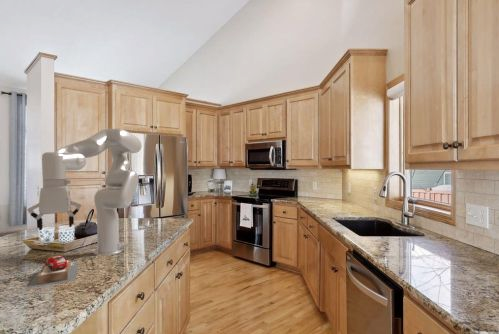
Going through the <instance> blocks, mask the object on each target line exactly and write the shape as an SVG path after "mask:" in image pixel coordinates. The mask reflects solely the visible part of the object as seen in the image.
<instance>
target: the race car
mask: <svg viewBox="0 0 499 334" xmlns="http://www.w3.org/2000/svg"><path fill="white" fill-rule="evenodd" d="M66 260H67V259H65V257H64V255H56V256H51V257H48V258H46V259H45V260H44V264H45V265H46V266H48V267H49V268H50V269H51V270H56V269H61V268H65V267H68V263H67V261H66Z"/></svg>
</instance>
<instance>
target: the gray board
mask: <svg viewBox="0 0 499 334" xmlns="http://www.w3.org/2000/svg"><path fill="white" fill-rule="evenodd" d="M78 268H79V264H73V265H71V269H70V273H69V277H68V280H62V281H56V282H50V283H44V284H39V285H38V278H37V276H38V274H39V273H40V271H41V269H40V270H37V272H36V273H35V274H34V277H33V278H32V280H31V281H30V283H29V285H28V287H27V289H33V288H37V287H44V286H50V285H55V284H62V283H67V282H73V281H76V279H77V272H78Z"/></svg>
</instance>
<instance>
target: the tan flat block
mask: <svg viewBox="0 0 499 334" xmlns="http://www.w3.org/2000/svg"><path fill="white" fill-rule="evenodd" d="M65 260H66V261H67V263H68V267H65V268H61V269H56V270H51V269H50V268H49V267H48V266H46V265H45V263H44V264H43V265H42V267H41V268H40V270H41V271H40V270H39V271H40V273H39V274H38V276H37V278H38V285H39V284H44V283H50V282H56V281H62V280H68V277H69V273H70V269H71V266H72V260H71V259H69V260H68V259H65Z"/></svg>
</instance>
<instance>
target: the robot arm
mask: <svg viewBox="0 0 499 334" xmlns="http://www.w3.org/2000/svg"><path fill="white" fill-rule="evenodd" d="M142 147H143V146H142V142H141V140H140V138H139V137H138V136H136V135H135V134H133V133H131V132H130V131H128V130H125V129H123V128H104V129H101V130H100V131H98V132H95V134H93V135H91V136H89V137H87V138H86V139H82V140H79V141H77V142H75V143H74V142H73V143H71V144H68V145H65V146H63V147H61V148H59V149H57V150H55V151H51V152H50V151H48V152H44V153H42V155H41V166H42V167H41V170H42V171H41V173H42V187H41V188H40V190H39V196H38V197H39V199H38V203H37V204H33V205H32V206H30V207H28V208H27V209H26V210H27V212H28V213H29V214H30V217H31V218H34V219H35V220H36V229H38V230H39V231H42V229H43V227H44V225H43V224H44V223H43V218H42V217H43V216H44V215H50V214H51V215H53V214H63V213H66V214H68V216H69V217H68V223H69V224H68V227H69V228H71V227H72V226H73V225H74V220H75V219H74V216H75V215H76V214H78V212H79V211H80V209H81V207H82V204H80V203H78V202H76V201H73V200H71V192H70V187H69V186H68V185H70V184H71V180H68V179H67V172H66V171H80V170H82V169H83V168H85V166H86V164H87V158H88V159H89V158H93V157H96V156H99V155H100V154H101V153H103V152H104V151H106V150H107V149H109V152H110V154H111V159H112V162H111V166H110V167H109V169H108V173H107V175H106V176H105V179H104V180H105V181H104V182H105V185H106V186H107V188H101V189H99V190H97V191H96V192H95V194H94V205H95V210H96V230H97V231H96V232H97V233H96V234H97V235H96V236H97V237H96V238H97V240H96V241H97V243H96V244H97V249H96V250H95V251H93V255H96V256H109V255H111V256H114V255H115V256H116V255H118V254H121V253H122V252H123V248H129V247H130V242H127V243H126V242H122V243H121V242H120V235H119V234H120V232H119V231H120V229H119V227H120V226H119V225H120V223H119V222H120V221H119V219H120V217H119V213H118V211H117V209H127V208H128V207H130V206H131V204H132V202H133V199H134V196H135V194H136V191H137V188H138V185H139V175H138V173H137V171H135V170H133V169H130V161H129V160H128V158H127V156H126V155H125V154H138V152H140V151H141V150H142ZM72 206H74V207H75V209H74V210H71V209H72ZM36 209H38V212H39V214H38V213H36V212H35V211H34V210H36Z"/></svg>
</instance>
